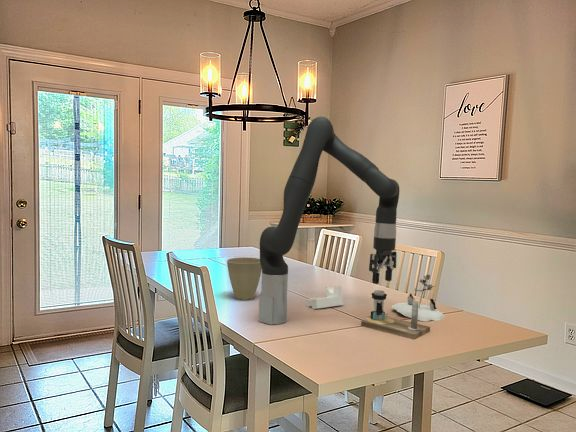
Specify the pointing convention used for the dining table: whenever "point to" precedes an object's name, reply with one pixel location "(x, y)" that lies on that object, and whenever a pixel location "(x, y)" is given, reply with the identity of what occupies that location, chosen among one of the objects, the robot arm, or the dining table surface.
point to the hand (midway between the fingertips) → (382, 282)
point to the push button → (378, 305)
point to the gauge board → (399, 325)
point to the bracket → (328, 298)
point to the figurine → (420, 306)
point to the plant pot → (244, 276)
